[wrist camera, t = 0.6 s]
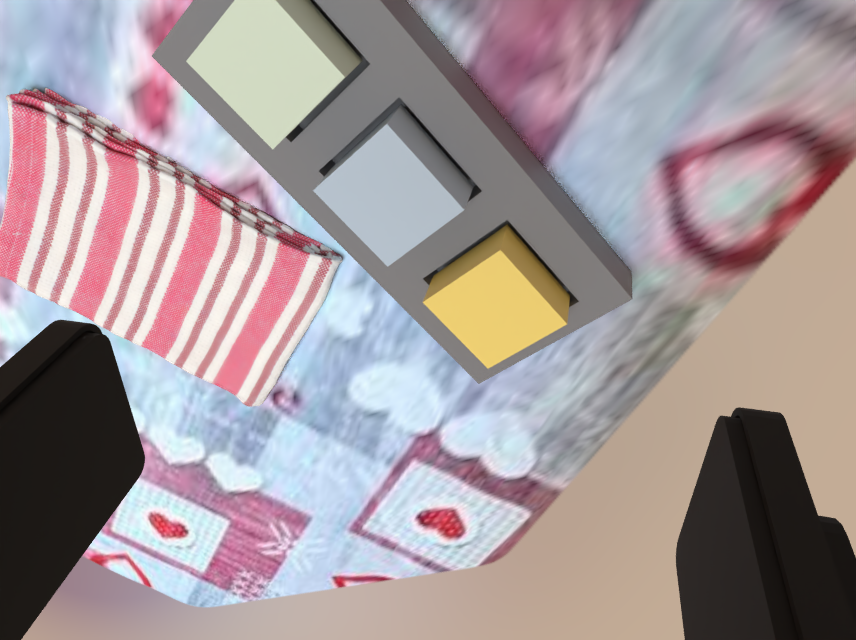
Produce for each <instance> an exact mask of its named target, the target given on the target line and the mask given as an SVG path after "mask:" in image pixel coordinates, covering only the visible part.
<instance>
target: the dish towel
mask: <svg viewBox="0 0 856 640" xmlns="http://www.w3.org/2000/svg"><path fill="white" fill-rule="evenodd" d="M6 99H7V101H8V115H9V126H10V162H9V171H8V180H7V194H6V201H5V207H4V213H3V218H2V222H1V225H0V276H2V277H5V278H7V279H10V280H12V281H14V282H15V283H16V284H17V285H19V286H20V287H22V288H24V289H26V290H28V291H31V292H33V293H35V294H36V295H38V296H40V297H42V298H45V299H48V300H50V301H53V302H55V303H57V304H58V305H61V306H63V307H65V308H68V309H71V310H73V311H75V312H77V313H79V314H81V315H83V316H85V317H87V318H89V319H90V320H92V321H93V322H94V323H96V324H97V325H99V326H101V327H103V328H105V329H107V330H109V331H110V332H112V333H114V334H116V335H117V336H120V337H122V338H124V339H127V340H130V341H131V342H133V343H135V344H137V345H139V346H142V347H145V348H147V349H149V350H151V351H152V352H154V353H156V354H158V355H160V356H161V357H163V358H164V359H165V360H167V361H168V362H170V363H171V364H174V365H176V366H178V367H180V368H181V369H183V370H185V371H186V372H188V373H190V374H193V375H195V376H197V377H199V378H201V379H203V380H205V381H208V382H209V383H212V384H215V385H217V386H219V387H221V388H223V389H225V390H227V391H229V392H231V393H232V394H234V395H235V396H236V397H237V398H239V400H240V401H241V402H242V403H243V404H245V405H247V406H249V407H252V406H259V405H261V404H263V402H264V401H265V399H266V398H267V395H268V394H269V392H270V391H271V390H272V388H273V387H274V385H275V384H276V382H277V380H278V378H279V375H280V374H281V372H282V370H283V368H284V366H285V364H286V362H287V361H288V359H289V358H290V356H291V354H292V352H293V351H294V349H295V348H296V346H297V344H298V343H299V341H300V340H301V338H302V337H303V335H304V333H305V332H306V331H307V329H308V327H309V326H310V324H311V322H312V320H313V318H314V316H315V315H316V313H317V312H318V310H319V309H320V307H321V306H322V304H323V302H324V300H325V298H326V295H327V293H328V291H329V288H330V284H331V282H332V279H333V276H334V274H335V271H336V270H337V268H338V265H339V264H340V263H341V262H342V258H341V256H340V255H339V254H337V253H335V252H334V251H333V250H332V249H330V248H328V247H326V246H325V245H323V244H322V243H320V242H317V241H315V240H313V239H311V238H309V237H306V236H304V235H302V234H300V233H297V232H295V231H294V230H293V229H291V228H290V227H289V226H287V225H285V224H283V223H281V222H279V221H277V220H275V219H274V218H272V217H271V216H269V215H267V214H265V213H264V212H262V211H260V210H258V209H256V208H254V207H253V206H251V205H250V204H248V203H245V202H242V201H241V200H239V199H236V198H234V197H232V196H230V195H228V194H226V193H224V192H222V191H220V190H219V189H217V188H215V187H214V186H213V185H212V184H210V183H209V182H207V181H206V180H204V179H201V178H199V177H197V176H195V175H194V174H192V173H191V172H189V171H188V170H186V169H185V168H183V167H181V166H180V165H177V164H175V163H173V162H174V160H172V159H171V158H169V157H168V156H167V158H165V157H163V156H161V155H159V154H157V153H154V152H152V151H151V150H149V149H146V148H145V147H143V146H141V145H140V144H139V141H138V140H137V139H136V138H135V137H134V136H133V135H132V134H130V133H128V132H126V131H125V130H123V129H119V128H118V127H116V126H115V124H113V123H112V122H111V121H109V120H108V119H106V118H103V117H101V116H99V115H95V114H93V113H92V112H91V111H89V110H88V109H86V108H84V107H82V106H79V105H76V104H72V103H70V102H68V101H67V100H65V99H64V98H63V97H61V96H60V95H58V94H57V93H55V92H53V91H52V90H50V89H47V88H45V94H43V93H42V92H40V91H39V90H38V89H34V90H33V91H30V90H25V89H23V90H20V92H19V94H11V95H7V96H6ZM171 161H172V162H171Z"/></svg>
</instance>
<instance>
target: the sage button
mask: <svg viewBox="0 0 856 640" xmlns="http://www.w3.org/2000/svg"><path fill="white" fill-rule="evenodd" d="M362 61H363V60H362V59H361V58H360V57H359V56H358V55H357V53H356V52H355V51H354V50H353V49H352V48H351V47H350V45H349V44H348V43H347V42H346V41H345V40H344V39H343V38H342V36H341V35H340V34H339V33H338V32H337V31H336V30H335V28H334V27H333V26H332V25H331V24H330V23H329V22H328V21H327V19H326V18H325V17H324V16H323V15H322V14H321V13H320V11H319V10H318V9H317V8H316V7H315V6H314V5H313V4H312V2H311V1H310V0H234V2H233V3H232V4H231V5H230V7H229V8H228V9H227V11H226V12H225V13H224V14H223V16H222V17H221V18H220V19H219V21H218V22H217V23H216V24H215V26H214V27H213V28H212V29H211V31H210V32H209V33H208V34H207V36H206V37H205V38H204V39H203V41H202V42H201V43H200V44H199V46H198V47H197V48H196V49H195V51H194V52H193V53H192V54H191V56H190V57H189V58H188V59H187V61H186V62H187V63H188V64H189V65H190V66H191V67H192V68H193V69H194V70H195V71H196V72H197V73H198V74H199V75H200V76H201V77H202V78H203V79H204V80H205V81H206V82H207V83H208V84H209V85H210V86H211V87H212V88H213V89H214V90H215V91H216V92H217V93H218V94H219V95H220V96H221V97H222V98H223V100H224V101H225V102H226V103H227V104H228V105H229V106H230V107H231V108H232V109H233V110H234V111H235V112H236V113H237V114H238V115H239V116H240V117H241V118H242V119H243V120H244V121H245V122H246V123H247V124H248V125H249V126H250V127H251V128H252V129H253V130H254V131H255V132H256V133H257V134H258V135H259V136H260V137H261V138H262V139H263V140H264V141H265V142H266V143H267V144H268V145H269V146H270V147H271V148H272V149H274V148H275V147H276V146H277V145H278V144H279V143H280V142H281V141H282V140H283V139H284V138H285V137H286V136H287V135H288V134H289V133H290V132H292V131H293V130H294V129H295V128H296V127H297V126H298V125H299V124H300V123H301V122H302V121H303V120H304V119H305V118H306V117H307V116H308V115H309V114H310V113H311V112H312V111H313V110H314V109H315V108H316V107H317V106H318V105H319V104H320V103H321V102H322V101H323V100H324V99H325V98H326V97H327V96H328V95H329V94H330V93H331V92H332V91H333V90H334V89H335V88H336V87H337V86H338V85H339V84H340V83H341V82H342V81H343V80H344V79H345V78H346V77H347V76H348V75H349V74H350V73H351V72H352V71H353V70H354V69H355V68H356V67H357V66H358V65H359V64H360V63H361V62H362Z"/></svg>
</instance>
